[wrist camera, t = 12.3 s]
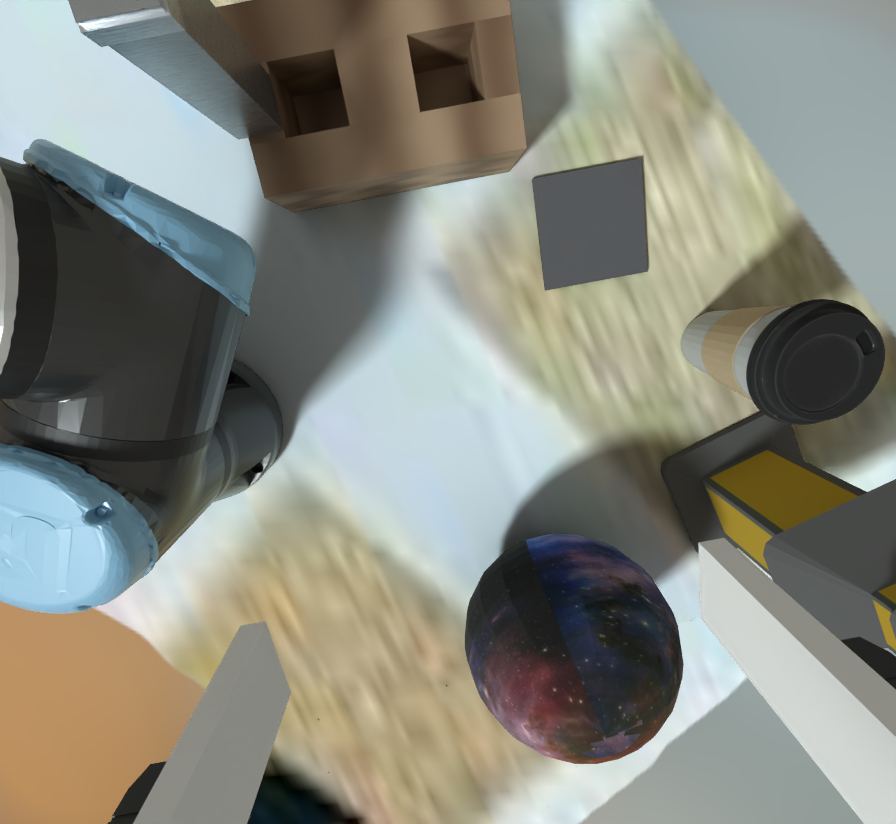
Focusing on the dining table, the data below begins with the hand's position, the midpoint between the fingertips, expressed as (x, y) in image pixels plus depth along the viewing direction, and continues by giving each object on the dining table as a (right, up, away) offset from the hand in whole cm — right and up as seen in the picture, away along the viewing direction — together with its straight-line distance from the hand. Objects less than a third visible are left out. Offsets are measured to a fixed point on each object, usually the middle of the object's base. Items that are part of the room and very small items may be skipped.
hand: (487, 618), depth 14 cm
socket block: (-6, +32, +27) cm, 42 cm away
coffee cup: (+25, +14, +33) cm, 44 cm away
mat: (+12, +24, +30) cm, 40 cm away
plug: (-15, +28, +19) cm, 37 cm away
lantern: (+31, -2, +38) cm, 50 cm away
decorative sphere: (+10, -13, +41) cm, 44 cm away
